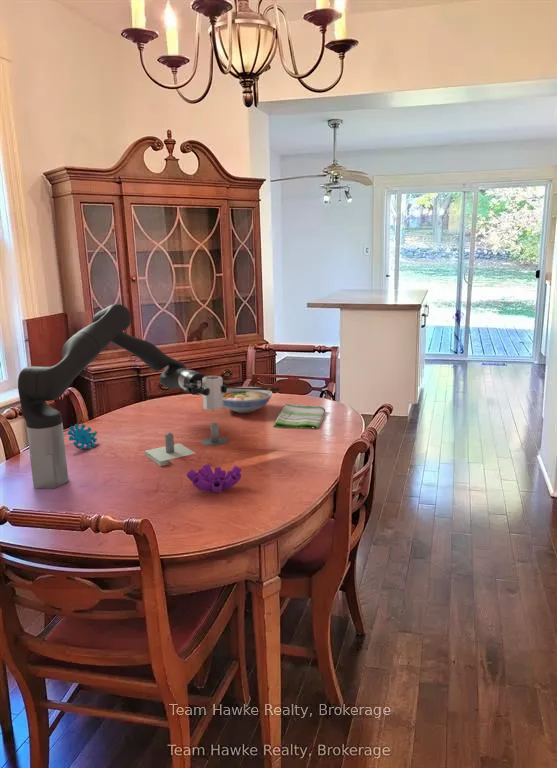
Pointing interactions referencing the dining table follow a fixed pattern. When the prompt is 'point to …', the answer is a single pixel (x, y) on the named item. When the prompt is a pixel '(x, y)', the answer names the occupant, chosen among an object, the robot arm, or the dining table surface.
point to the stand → (214, 437)
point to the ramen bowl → (246, 398)
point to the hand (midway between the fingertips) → (216, 391)
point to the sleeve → (213, 392)
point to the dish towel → (300, 416)
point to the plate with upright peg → (168, 451)
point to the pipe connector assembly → (214, 478)
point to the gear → (82, 436)
